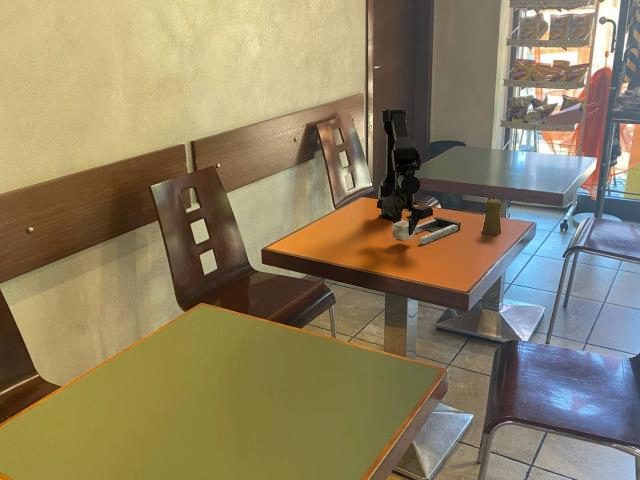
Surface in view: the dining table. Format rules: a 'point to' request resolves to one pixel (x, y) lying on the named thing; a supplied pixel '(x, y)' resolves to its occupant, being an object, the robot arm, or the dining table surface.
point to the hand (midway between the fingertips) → (403, 233)
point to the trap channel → (437, 229)
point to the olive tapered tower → (492, 217)
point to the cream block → (401, 231)
